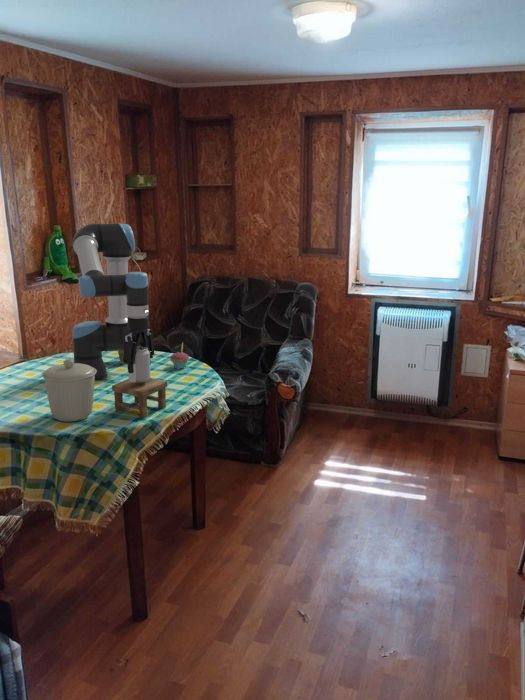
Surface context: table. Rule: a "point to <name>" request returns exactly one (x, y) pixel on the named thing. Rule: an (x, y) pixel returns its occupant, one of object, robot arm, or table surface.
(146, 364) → the can
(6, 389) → the table surface
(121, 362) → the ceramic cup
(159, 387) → the stool
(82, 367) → the canister
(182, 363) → the cupcake
